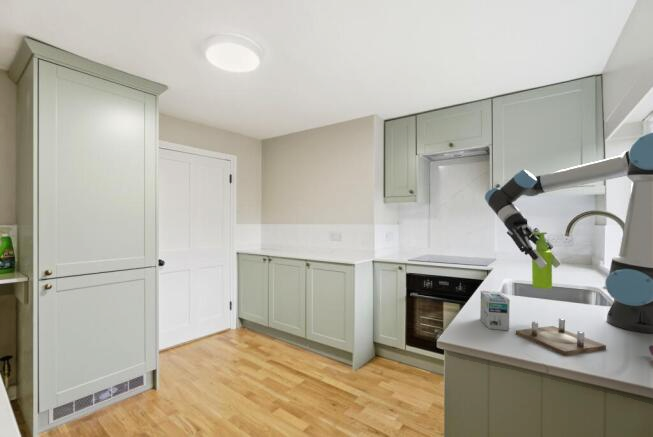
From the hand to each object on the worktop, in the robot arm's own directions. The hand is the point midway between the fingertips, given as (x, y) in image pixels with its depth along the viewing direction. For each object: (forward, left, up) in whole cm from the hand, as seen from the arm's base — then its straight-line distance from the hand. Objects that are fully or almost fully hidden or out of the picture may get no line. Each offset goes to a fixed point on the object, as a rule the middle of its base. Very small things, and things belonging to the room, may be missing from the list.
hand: (551, 265), depth 111 cm
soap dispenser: (0, -4, -9) cm, 9 cm away
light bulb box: (+19, -6, -21) cm, 29 cm away
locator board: (+11, +11, -21) cm, 26 cm away
